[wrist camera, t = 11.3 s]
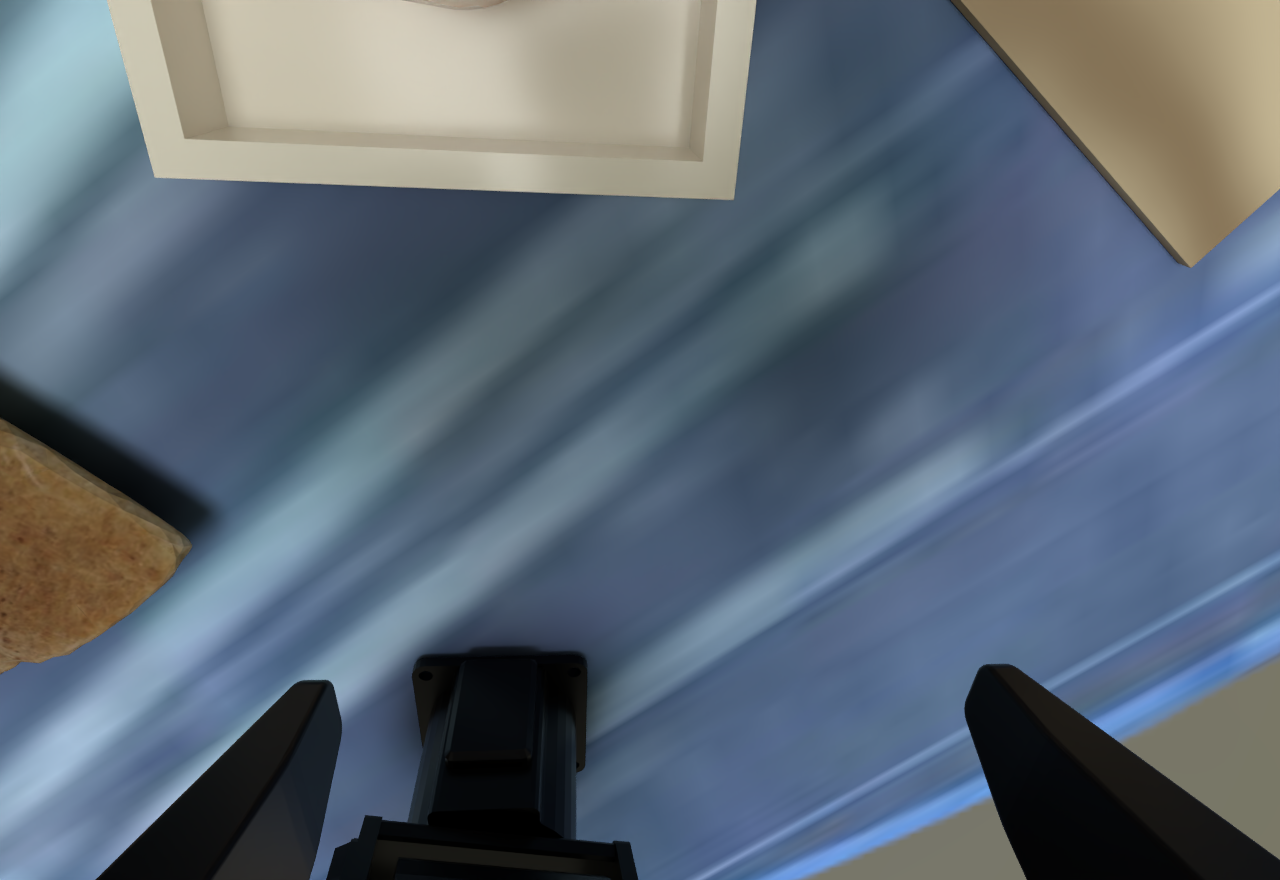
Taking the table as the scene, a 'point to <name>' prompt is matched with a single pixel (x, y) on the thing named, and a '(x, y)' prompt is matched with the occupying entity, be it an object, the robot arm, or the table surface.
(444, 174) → the cream dish
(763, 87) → the table surface
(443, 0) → the terracotta jar
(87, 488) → the brown flared stand
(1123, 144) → the beech board
